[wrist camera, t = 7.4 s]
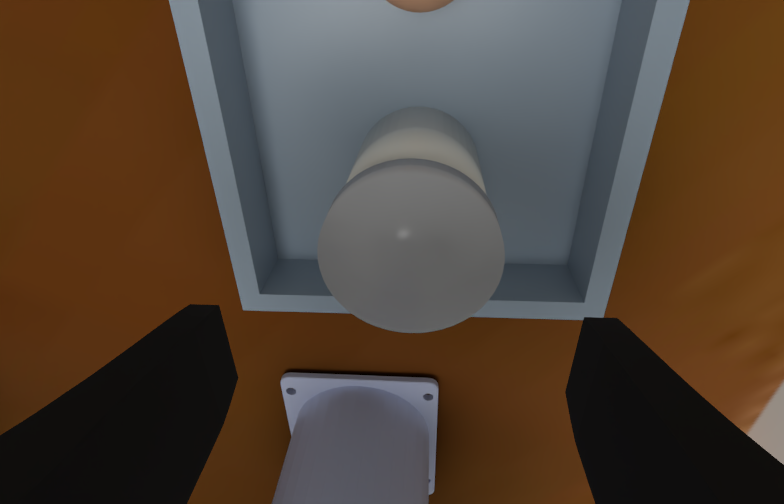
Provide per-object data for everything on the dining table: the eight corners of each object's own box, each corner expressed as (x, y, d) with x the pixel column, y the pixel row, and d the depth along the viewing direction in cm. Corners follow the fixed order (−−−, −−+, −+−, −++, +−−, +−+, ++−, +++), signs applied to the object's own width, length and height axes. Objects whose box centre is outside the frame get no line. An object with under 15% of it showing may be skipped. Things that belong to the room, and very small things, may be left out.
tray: (580, 274, 20) (602, 320, 17) (266, 267, 21) (243, 310, 18) (697, -243, 12) (771, -299, 9) (172, -214, 13) (107, -257, 10)
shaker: (477, 224, 18) (495, 336, 13) (358, 222, 19) (326, 329, 13) (487, 102, 16) (515, 174, 10) (350, 102, 16) (307, 172, 11)
